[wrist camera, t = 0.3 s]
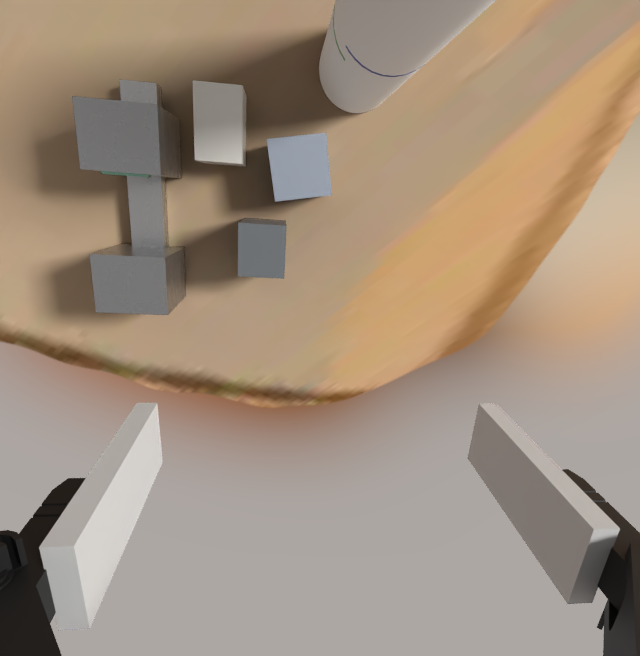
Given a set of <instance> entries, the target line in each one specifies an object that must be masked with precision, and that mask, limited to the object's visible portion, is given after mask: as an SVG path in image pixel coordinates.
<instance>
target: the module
mask: <svg viewBox="0 0 640 656" xmlns="http://www.w3.org/2000/svg"><path fill="white" fill-rule="evenodd" d="M285 246H286V221H285V220H270V219H255V218H244V219H243V220H241V221H240V222H238V276H243V277H263V278H283V279H284V270H285Z"/></svg>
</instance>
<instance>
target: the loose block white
mask: <svg viewBox="0 0 640 656" xmlns="http://www.w3.org/2000/svg"><path fill="white" fill-rule="evenodd" d="M246 98H247V96H246V93H245V90H244V88H243V85H235V84H225V83H215V82H205V81H195V80H193V117H194V154H195V160H196V161H198V162H201V163H205V164H218V165H230V166H243V167H246Z"/></svg>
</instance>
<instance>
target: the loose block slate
mask: <svg viewBox="0 0 640 656" xmlns="http://www.w3.org/2000/svg"><path fill="white" fill-rule="evenodd" d="M267 146H268V153H269V160H270V168H271V175H272V182H273V190H274V197H275V202H276V201H285V200H294V199H302V198H311V197H320V196H329V195H332V193H331V182H330V170H329V159H328V148H327V137H326V133H319V134H309V135H299V136H290V137H280V138H271V139H267Z"/></svg>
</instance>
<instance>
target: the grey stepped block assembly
mask: <svg viewBox="0 0 640 656" xmlns="http://www.w3.org/2000/svg"><path fill="white" fill-rule="evenodd" d="M119 81H120V95H121V101H119V100H108V99H97V98H87V97H76V96H72V99H73V109H74V118H75V127H76V136H77V145H78V154H79V163H80V169H82V170H91V171H99V172H101V174H110V175H123V176H127V186H128V199H129V212H130V225H131V239H132V244H119V245H116V246H113V247H110V248H107V249H104V250H100V251H97V252H94V253H91V254H90V263H91V272H92V281H93V291H94V300H95V309H96V312H101V313H126V314H152V315H169V313H170V312H171V311H172V310H173V309H174V308H175V307H176V306H177V305H178V304H179V303H180V302H181V301H182V300H183V298H184V297H185V296H186V283H185V255H184V247H169V241H168V220H167V200H166V179H165V177H169V178H182V173H181V145H180V120H179V119H177V118H176V117H174V116H173V115H172V114H170V113H169V112H167V111H166V110H165V109H163V108H162V96H161V87H160V86H159V85H158V84H157V83H150V82H140V81H130V80H120V79H119Z"/></svg>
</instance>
